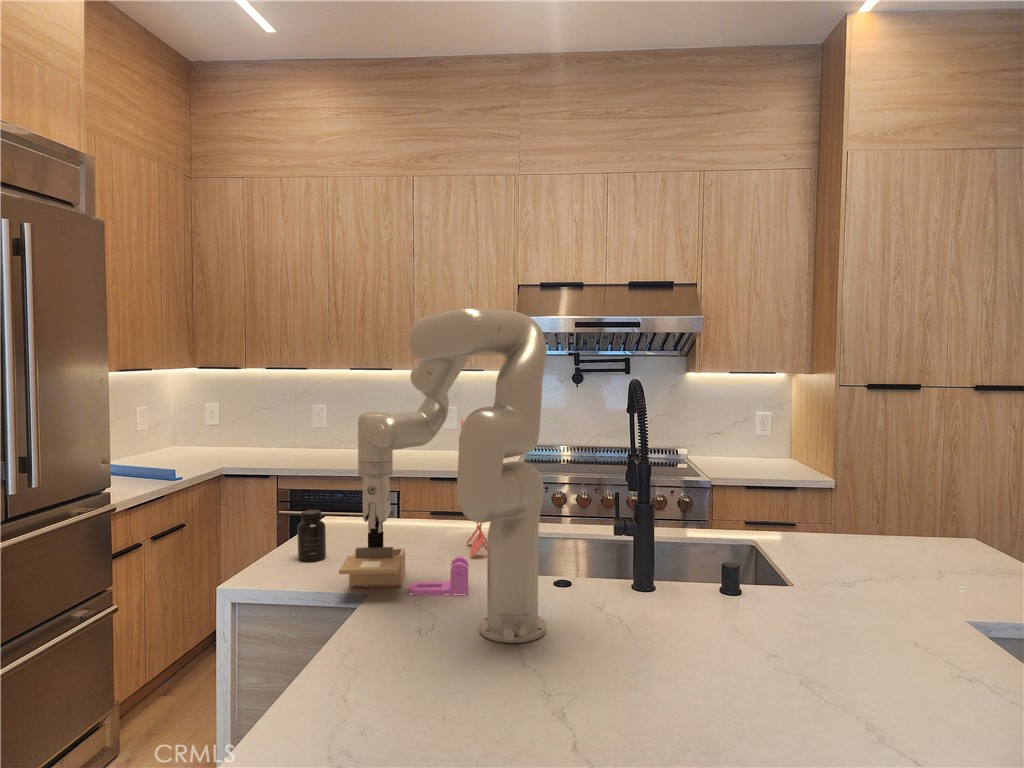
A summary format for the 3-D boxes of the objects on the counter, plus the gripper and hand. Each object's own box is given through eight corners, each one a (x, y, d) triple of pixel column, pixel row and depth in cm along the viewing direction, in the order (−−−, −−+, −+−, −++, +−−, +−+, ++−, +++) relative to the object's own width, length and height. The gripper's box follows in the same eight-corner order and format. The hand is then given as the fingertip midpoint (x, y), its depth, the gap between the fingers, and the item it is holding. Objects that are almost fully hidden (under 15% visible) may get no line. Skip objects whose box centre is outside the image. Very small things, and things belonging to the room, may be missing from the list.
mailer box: (401, 586, 152) (401, 560, 152) (349, 588, 152) (349, 561, 151) (405, 573, 162) (405, 548, 162) (356, 574, 161) (356, 549, 161)
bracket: (468, 587, 153) (468, 556, 153) (467, 595, 147) (467, 563, 147) (409, 588, 152) (409, 557, 152) (406, 597, 147) (406, 564, 146)
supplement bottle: (297, 556, 176) (297, 509, 175) (325, 553, 178) (324, 507, 177) (297, 563, 169) (297, 515, 169) (326, 561, 171) (325, 513, 171)
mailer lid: (397, 573, 142) (397, 559, 142) (339, 574, 142) (339, 560, 142) (402, 558, 152) (402, 546, 152) (347, 559, 152) (347, 547, 152)
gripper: (388, 474, 145) (388, 560, 146) (396, 462, 160) (396, 540, 161) (352, 474, 144) (352, 560, 145) (363, 462, 159) (364, 540, 160)
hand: (375, 549), depth 153 cm, fingers closed
